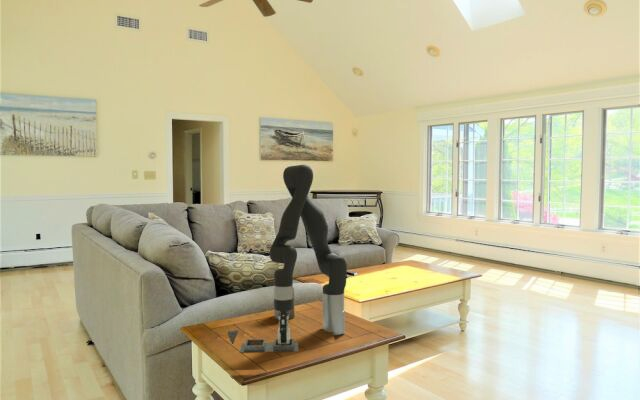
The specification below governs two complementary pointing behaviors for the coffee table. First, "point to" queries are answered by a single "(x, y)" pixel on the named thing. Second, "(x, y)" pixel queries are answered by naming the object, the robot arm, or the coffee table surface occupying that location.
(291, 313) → the pillar candle
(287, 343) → the metal block with knob
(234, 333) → the smartphone
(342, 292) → the robot arm
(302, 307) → the coffee table surface
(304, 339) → the coffee table surface
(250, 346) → the block holder
